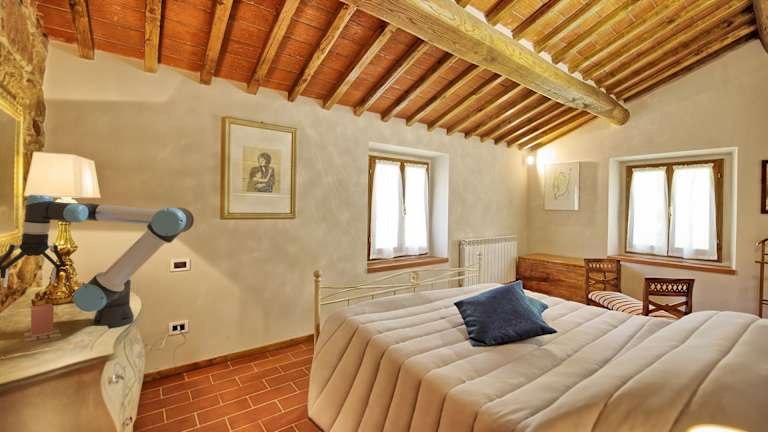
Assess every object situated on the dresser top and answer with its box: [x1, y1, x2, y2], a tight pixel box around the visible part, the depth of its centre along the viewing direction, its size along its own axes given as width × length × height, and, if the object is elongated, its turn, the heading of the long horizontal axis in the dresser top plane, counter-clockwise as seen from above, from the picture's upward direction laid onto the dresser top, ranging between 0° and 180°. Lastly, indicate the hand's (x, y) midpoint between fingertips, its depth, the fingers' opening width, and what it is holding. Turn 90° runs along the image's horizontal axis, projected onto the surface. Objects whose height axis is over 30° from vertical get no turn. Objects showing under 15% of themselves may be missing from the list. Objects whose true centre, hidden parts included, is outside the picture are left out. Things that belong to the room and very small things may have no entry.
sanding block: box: [30, 303, 55, 337], centre depth 140 cm, size 8×6×10 cm
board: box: [23, 326, 63, 345], centre depth 138 cm, size 16×10×1 cm, turn 48°
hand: (29, 284), depth 140 cm, fingers open, 13 cm apart
